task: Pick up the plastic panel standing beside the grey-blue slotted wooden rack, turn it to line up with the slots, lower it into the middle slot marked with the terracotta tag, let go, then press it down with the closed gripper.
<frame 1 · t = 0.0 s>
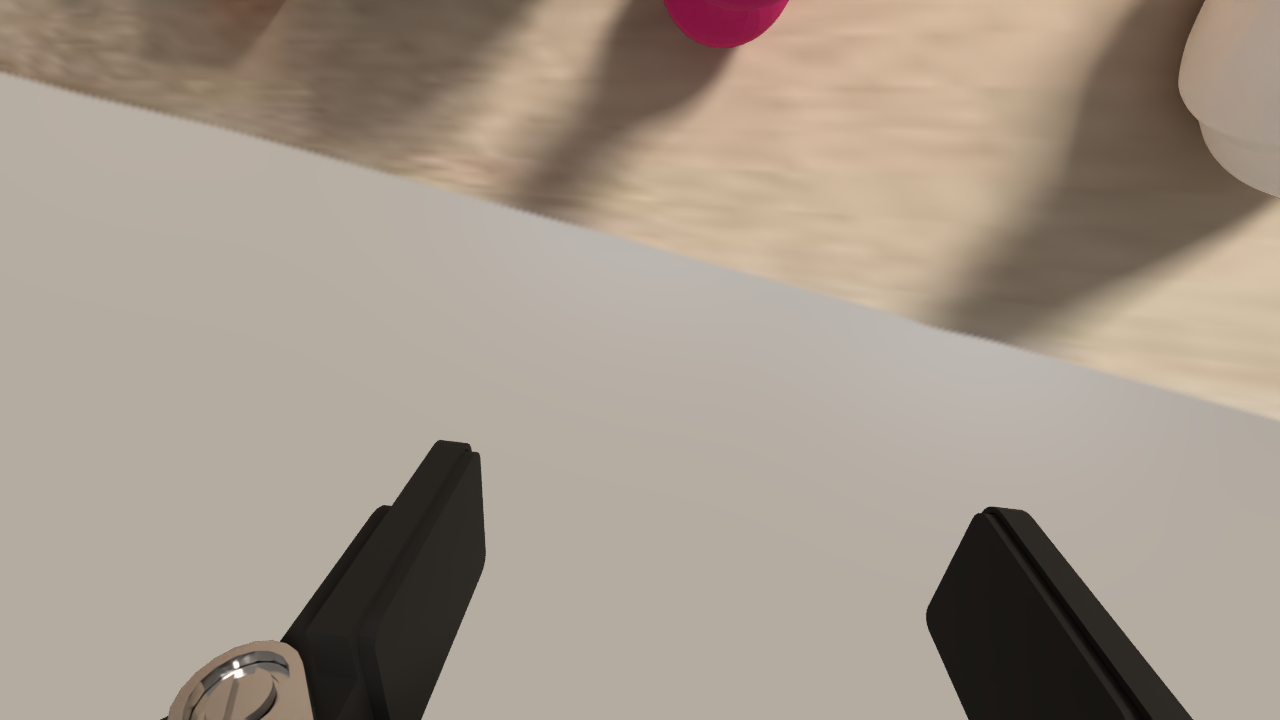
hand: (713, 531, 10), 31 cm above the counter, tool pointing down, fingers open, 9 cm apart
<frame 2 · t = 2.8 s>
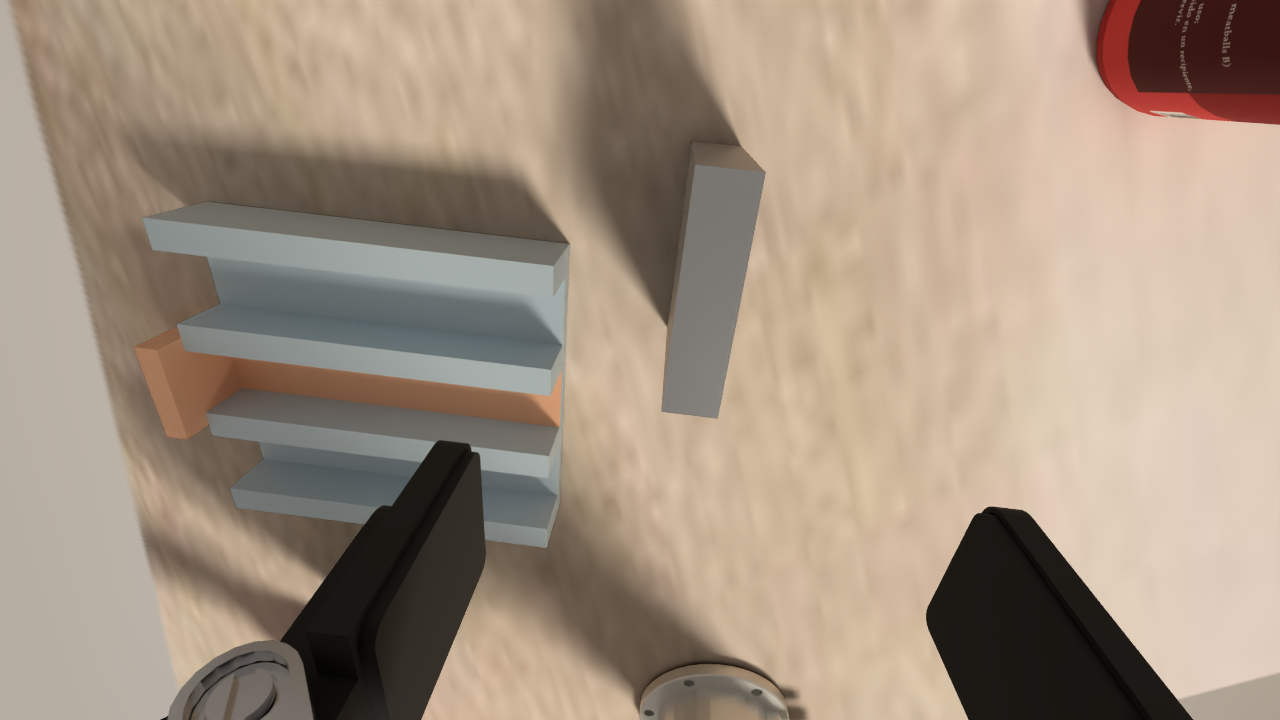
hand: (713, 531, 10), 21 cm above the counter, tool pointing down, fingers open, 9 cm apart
canned food: (1190, 16, 23), on the counter
panel: (701, 244, 29), on the counter
rack: (404, 370, 33), on the counter
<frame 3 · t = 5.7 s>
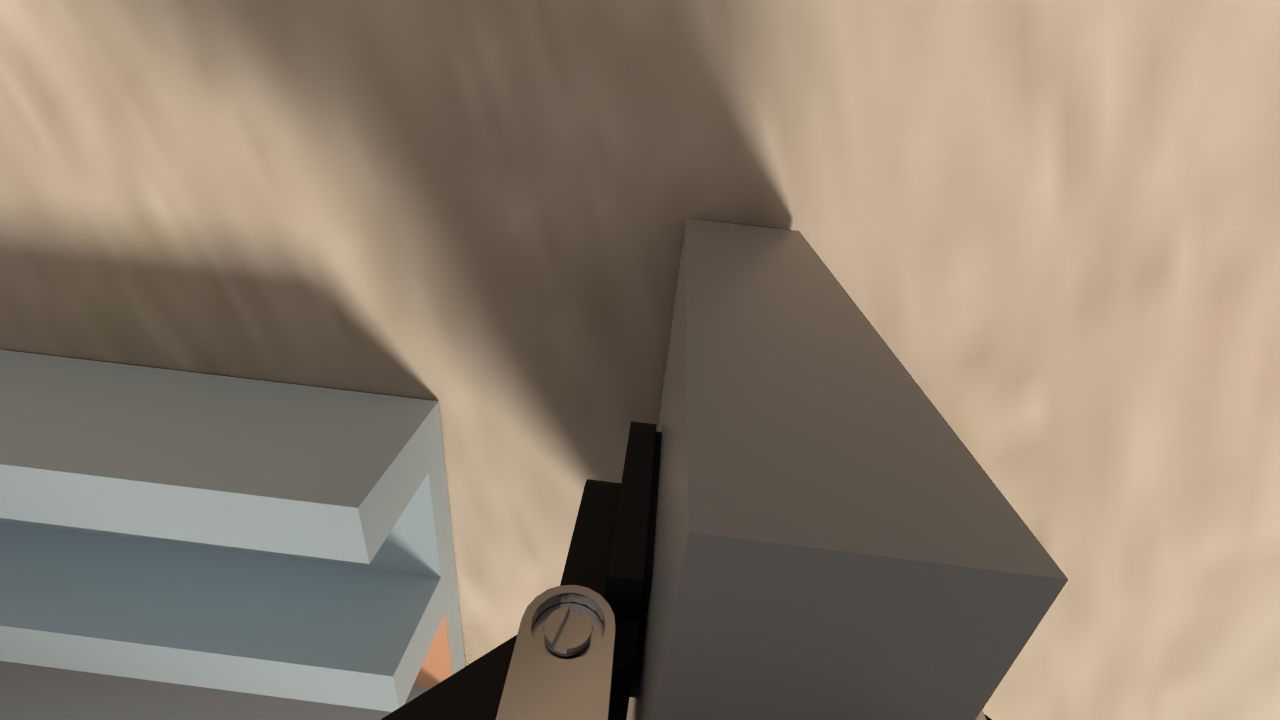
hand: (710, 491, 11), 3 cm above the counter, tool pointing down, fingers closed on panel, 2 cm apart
panel: (706, 421, 14), on the counter, touching gripper
rack: (179, 589, 19), on the counter
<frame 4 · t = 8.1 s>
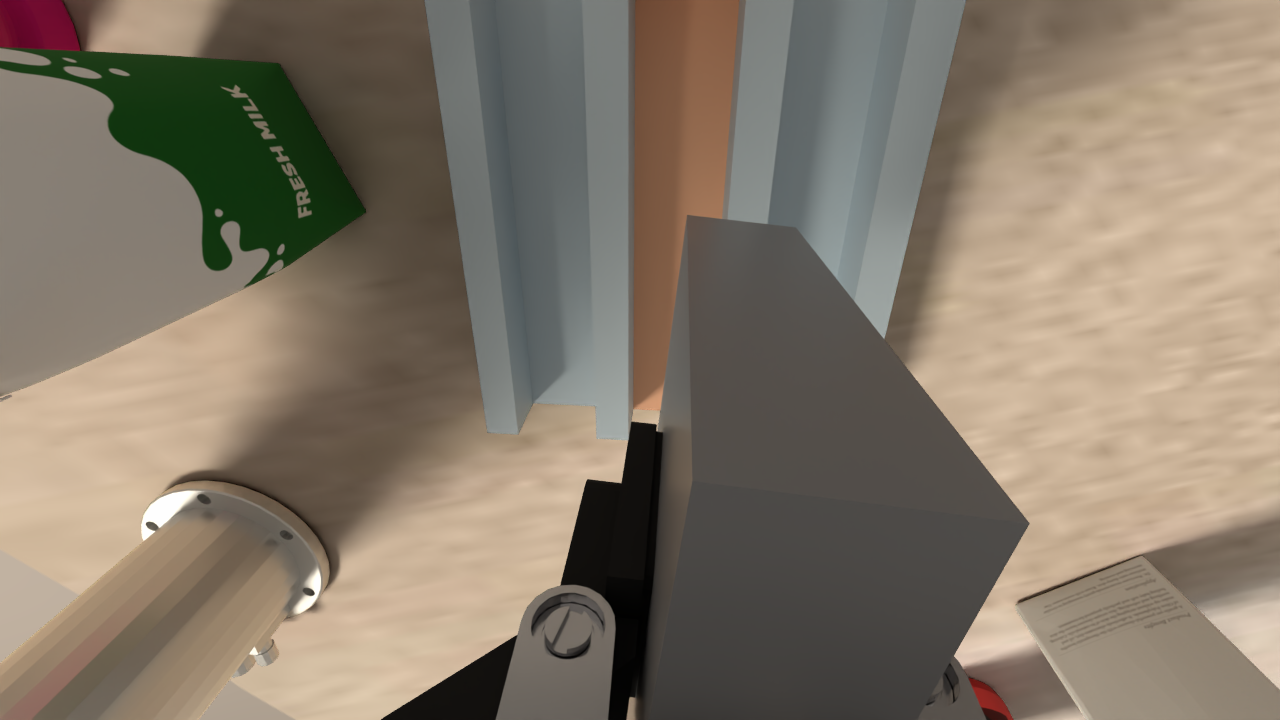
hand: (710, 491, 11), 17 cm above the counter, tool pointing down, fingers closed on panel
canned food: (946, 702, 41), on the counter
pepper mill: (15, 22, 24), on the counter
panel: (706, 412, 14), point 14 cm above the counter, touching gripper
skincare box: (1090, 601, 35), on the counter
milk carton: (269, 168, 26), on the counter
rack: (677, 221, 26), on the counter
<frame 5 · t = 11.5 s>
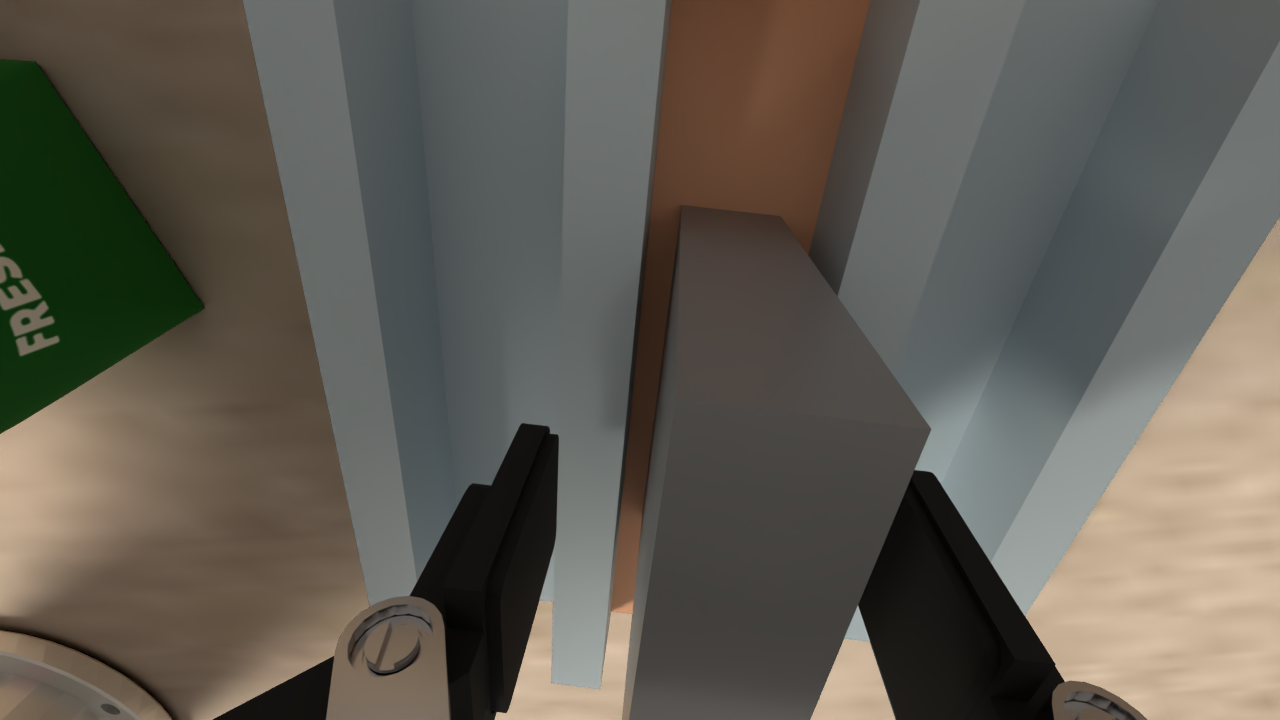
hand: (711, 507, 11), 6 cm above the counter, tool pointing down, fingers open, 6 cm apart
panel: (700, 387, 15), point 1 cm above the counter, touching rack
milk carton: (42, 227, 16), on the counter
rack: (703, 367, 16), on the counter
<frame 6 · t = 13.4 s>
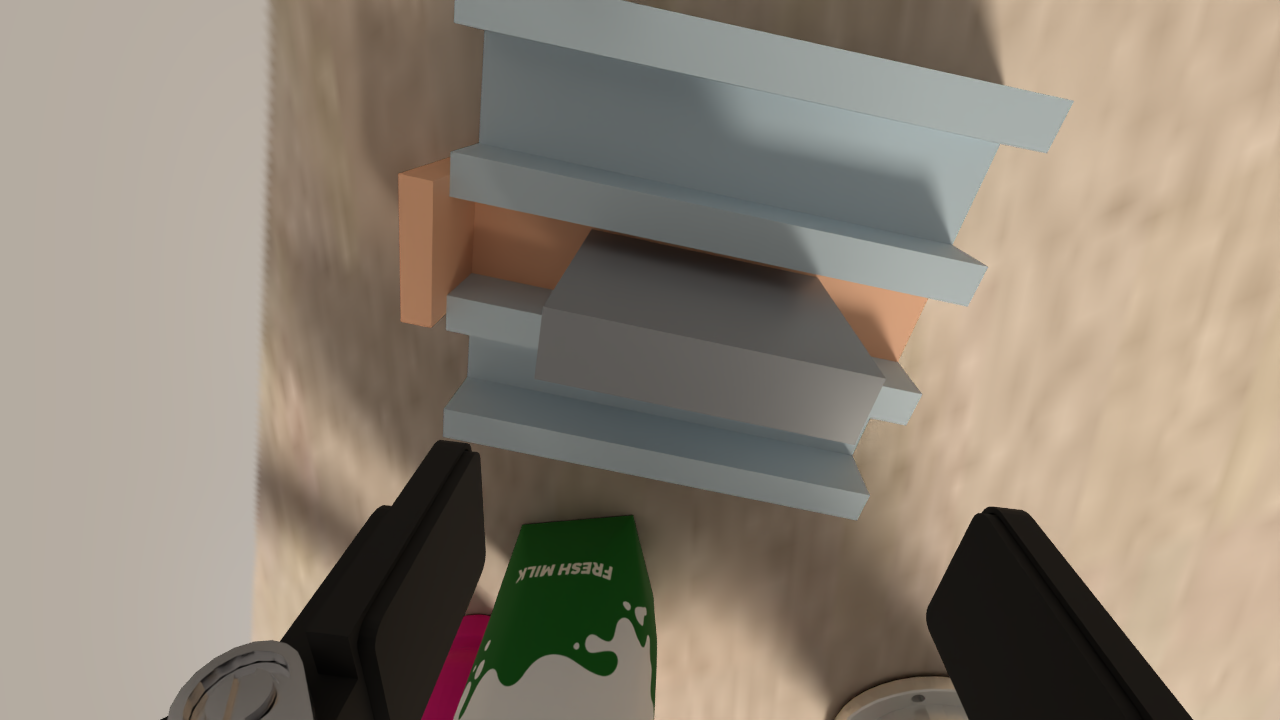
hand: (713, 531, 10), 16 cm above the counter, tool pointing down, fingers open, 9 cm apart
pepper mill: (487, 640, 39), on the counter
panel: (698, 279, 24), point 1 cm above the counter, touching rack
milk carton: (590, 559, 34), on the counter
rack: (696, 269, 25), on the counter
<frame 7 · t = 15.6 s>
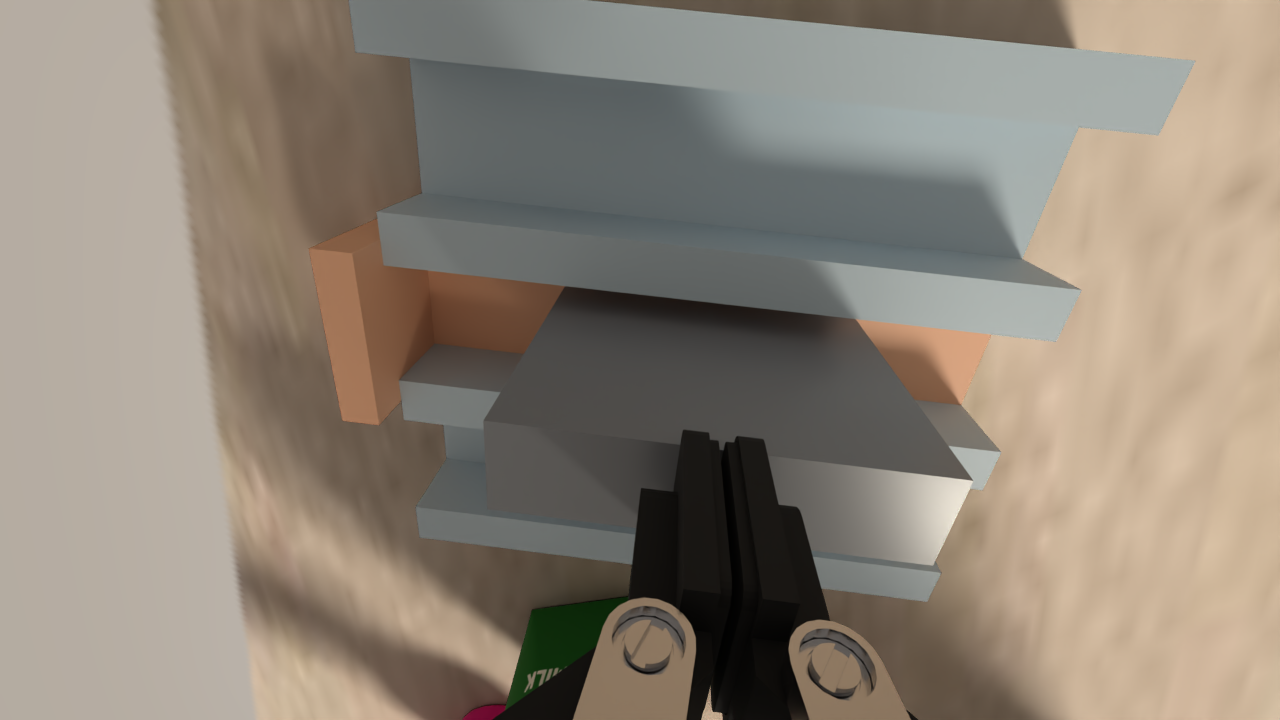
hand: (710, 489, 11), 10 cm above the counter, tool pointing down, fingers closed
panel: (703, 328, 20), point 1 cm above the counter, touching gripper, rack
milk carton: (613, 641, 30), on the counter
rack: (701, 314, 20), on the counter
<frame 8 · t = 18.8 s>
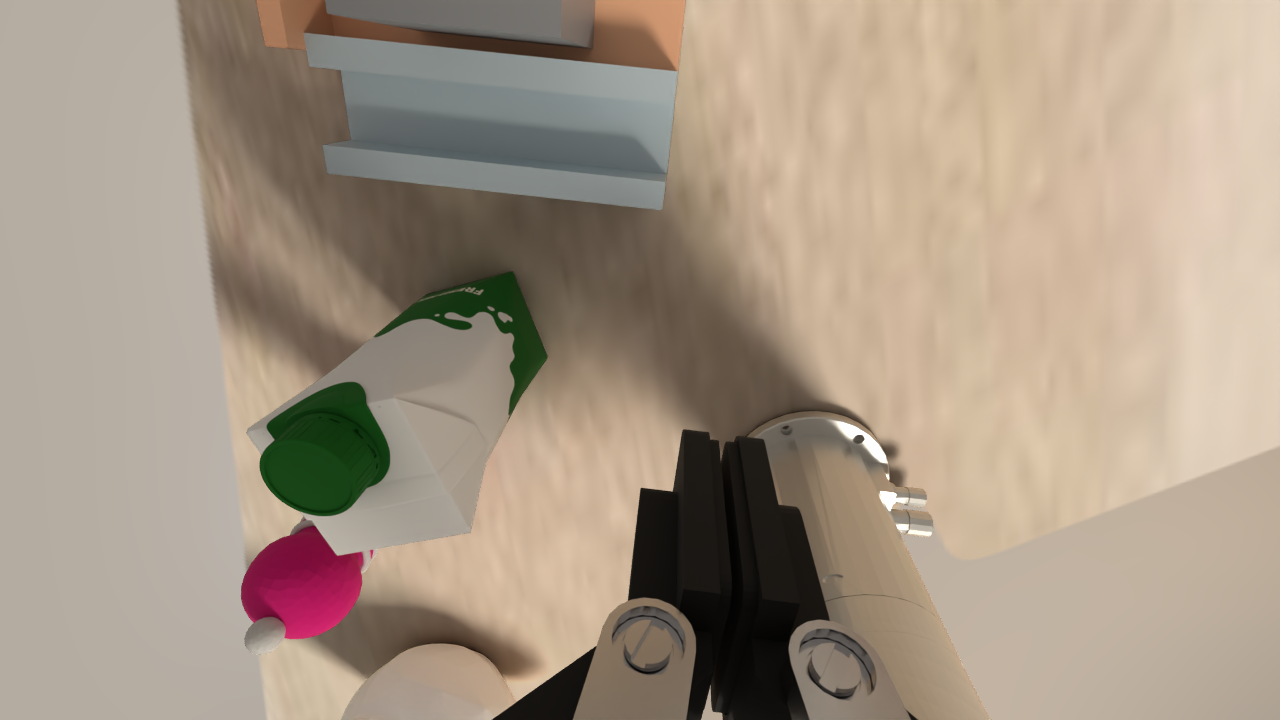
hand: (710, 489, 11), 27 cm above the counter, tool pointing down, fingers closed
decorative rooster: (486, 678, 61), on the counter
pepper mill: (423, 426, 45), on the counter
panel: (505, 15, 30), point 1 cm above the counter, touching rack
milk carton: (489, 326, 41), on the counter
rack: (509, 15, 31), on the counter
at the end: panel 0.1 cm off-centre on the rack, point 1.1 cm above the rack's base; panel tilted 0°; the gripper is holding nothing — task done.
